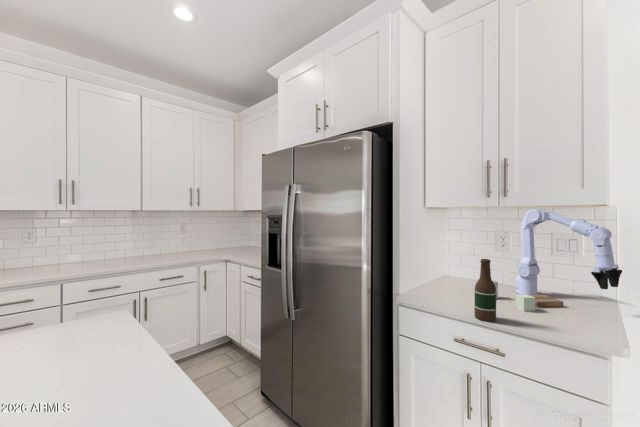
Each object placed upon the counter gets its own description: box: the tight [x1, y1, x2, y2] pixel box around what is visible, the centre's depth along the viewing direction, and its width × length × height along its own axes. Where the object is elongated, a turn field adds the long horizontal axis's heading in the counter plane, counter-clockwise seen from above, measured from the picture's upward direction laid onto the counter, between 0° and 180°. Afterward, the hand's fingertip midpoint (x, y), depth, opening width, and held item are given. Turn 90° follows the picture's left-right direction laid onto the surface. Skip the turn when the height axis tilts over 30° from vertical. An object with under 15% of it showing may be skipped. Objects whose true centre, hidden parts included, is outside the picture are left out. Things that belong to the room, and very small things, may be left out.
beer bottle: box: [474, 258, 497, 323], centre depth 121 cm, size 8×8×24 cm
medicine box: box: [477, 278, 499, 300], centre depth 150 cm, size 8×4×9 cm, turn 84°
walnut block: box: [527, 293, 564, 309], centre depth 140 cm, size 12×12×3 cm
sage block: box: [515, 293, 536, 312], centre depth 132 cm, size 5×5×6 cm
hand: (609, 287), depth 127 cm, fingers open, 7 cm apart
